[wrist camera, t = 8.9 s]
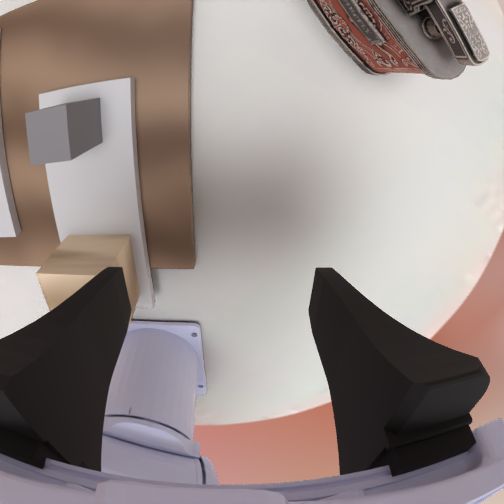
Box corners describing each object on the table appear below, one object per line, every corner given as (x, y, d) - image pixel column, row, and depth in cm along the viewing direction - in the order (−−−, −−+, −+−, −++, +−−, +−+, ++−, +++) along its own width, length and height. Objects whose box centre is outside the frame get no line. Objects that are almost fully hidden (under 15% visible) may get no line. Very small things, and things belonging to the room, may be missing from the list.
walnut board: (195, 261, 22) (194, 268, 21) (-17, 258, 21) (-23, 264, 20) (195, -28, 13) (193, -33, 12) (-48, 46, 11) (-56, 47, 10)
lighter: (284, -19, 13) (332, -98, 4) (328, -41, 12) (401, -113, 4) (365, 84, 17) (471, 100, 8) (403, 60, 16) (519, 66, 7)
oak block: (140, 293, 21) (124, 340, 17) (82, 291, 21) (59, 334, 17) (130, 234, 19) (106, 275, 15) (68, 235, 18) (36, 273, 14)
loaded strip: (155, 301, 22) (142, 349, 18) (82, 297, 22) (59, 341, 18) (134, 77, 15) (101, 78, 11) (45, 93, 14) (-2, 103, 10)
